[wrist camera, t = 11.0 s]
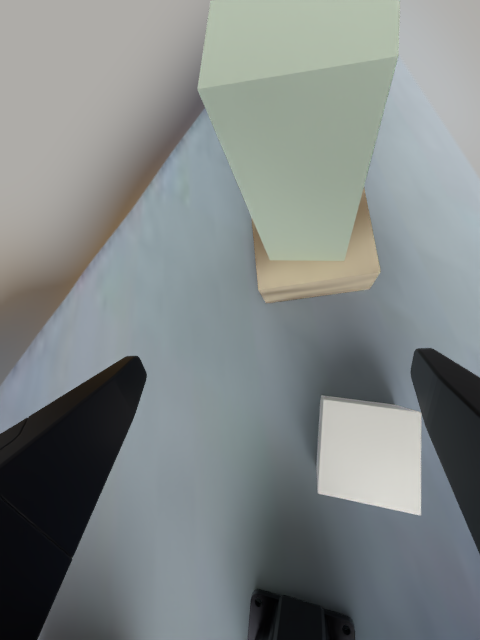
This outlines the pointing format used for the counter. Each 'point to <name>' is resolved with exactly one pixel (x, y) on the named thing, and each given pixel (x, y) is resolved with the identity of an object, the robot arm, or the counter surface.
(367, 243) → the oak base block
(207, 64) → the sage pillar
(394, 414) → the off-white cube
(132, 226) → the counter surface
